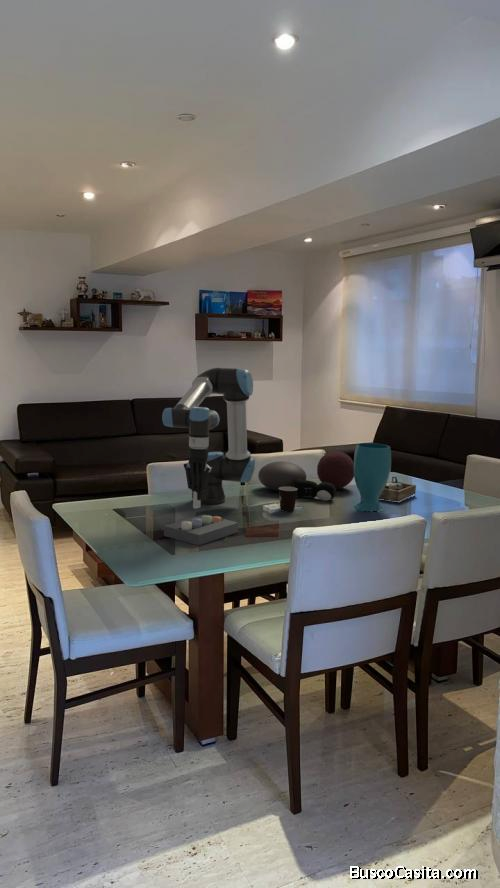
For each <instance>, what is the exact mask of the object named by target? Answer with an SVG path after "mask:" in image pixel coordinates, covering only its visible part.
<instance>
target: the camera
mask: <svg viewBox="0 0 500 888" xmlns="http://www.w3.org/2000/svg"><path fill="white" fill-rule="evenodd" d="M397 477H398V475H394V476H392V477H391V478H392V479H391V481H392V482H389V481H388V482H389V483H387V484H386V486H385V488H384V489H390V490H396V491H399V490H402V489H403V483H404V482H402V481H398V478H397Z"/></svg>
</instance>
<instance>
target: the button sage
mask: <svg viewBox="0 0 500 888" xmlns="http://www.w3.org/2000/svg"><path fill="white" fill-rule="evenodd" d="M203 515H204V514H203ZM212 516H213V515H208V514H205V515H204V516H202V524H205V525H210V524H212Z"/></svg>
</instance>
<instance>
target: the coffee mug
mask: <svg viewBox="0 0 500 888" xmlns="http://www.w3.org/2000/svg"><path fill="white" fill-rule="evenodd" d="M297 490H298V489H297V488H294V487H280V488H279V491H278V495H279V496H278V497H279V499H278V500H279V510H280V509H281V510H284V511H292V512H294V511H295V509H296V508H295V506H296V502H297V497H296V496H297ZM281 510H280V511H281ZM284 511H283V512H284Z"/></svg>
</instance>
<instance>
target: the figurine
mask: <svg viewBox="0 0 500 888" xmlns="http://www.w3.org/2000/svg"><path fill="white" fill-rule="evenodd" d="M295 488H297V489H298V490H297V496H296V498H301V499H302V498H303V499H314V498H316V497H317V499H319V500H320V501H323V502H328V501H331V500H333V499H334V498H335V496H336V489H335V487H334V485H333V484H331V483H328V482H321V481H320V482H319V483H317V482H316V481H312V480H309V479H308V480H307V479H306V480H302V479H297V481H296V483H295Z"/></svg>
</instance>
